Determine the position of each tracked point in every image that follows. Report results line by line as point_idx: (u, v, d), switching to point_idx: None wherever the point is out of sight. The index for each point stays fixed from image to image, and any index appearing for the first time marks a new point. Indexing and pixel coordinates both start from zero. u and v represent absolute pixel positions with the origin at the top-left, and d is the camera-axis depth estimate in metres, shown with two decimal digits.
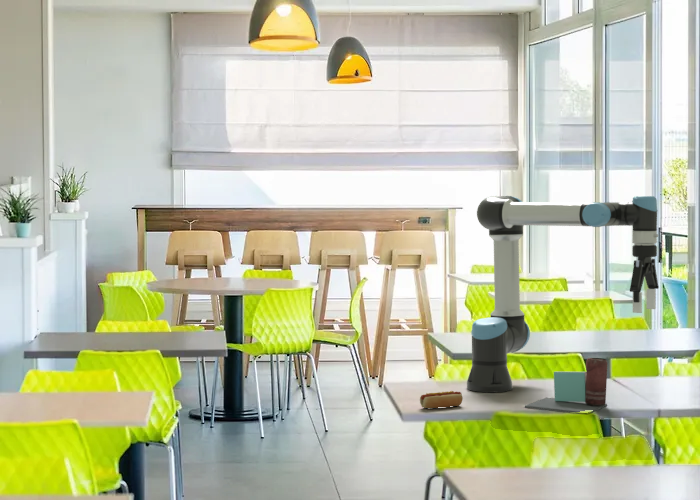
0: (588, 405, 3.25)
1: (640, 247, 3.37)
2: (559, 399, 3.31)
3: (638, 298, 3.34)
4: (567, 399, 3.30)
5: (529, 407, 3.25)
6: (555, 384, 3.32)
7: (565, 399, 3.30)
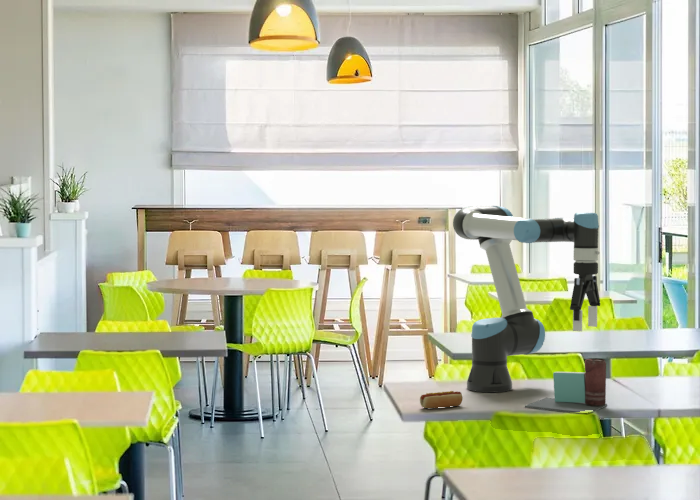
0: None
1: (581, 264, 3.33)
2: (559, 400, 3.31)
3: (578, 316, 3.30)
4: (567, 400, 3.29)
5: (529, 407, 3.25)
6: (555, 385, 3.32)
7: (565, 400, 3.30)
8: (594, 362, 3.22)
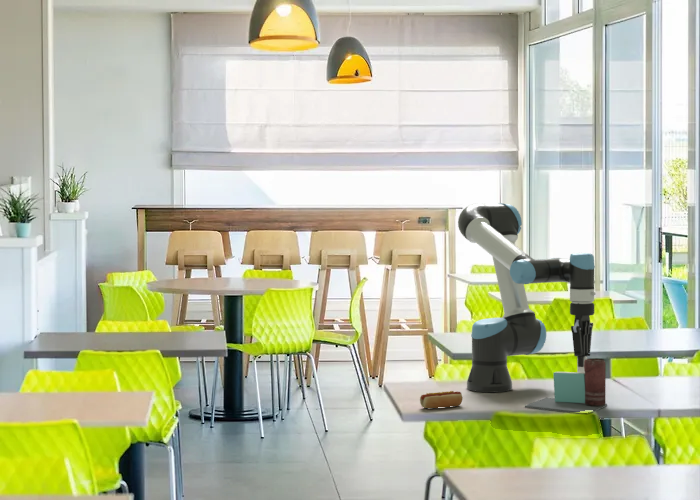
0: None
1: (577, 305, 3.33)
2: (559, 400, 3.31)
3: (582, 363, 3.35)
4: (567, 400, 3.29)
5: (529, 407, 3.25)
6: (555, 385, 3.31)
7: (565, 400, 3.30)
8: (593, 362, 3.22)
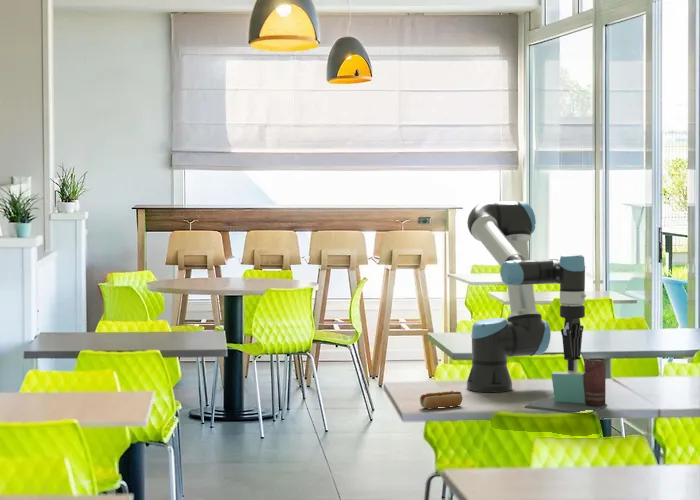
0: None
1: (567, 308, 3.26)
2: (559, 400, 3.31)
3: (572, 366, 3.29)
4: (567, 400, 3.29)
5: (529, 407, 3.25)
6: (554, 385, 3.31)
7: (565, 400, 3.30)
8: (593, 362, 3.22)
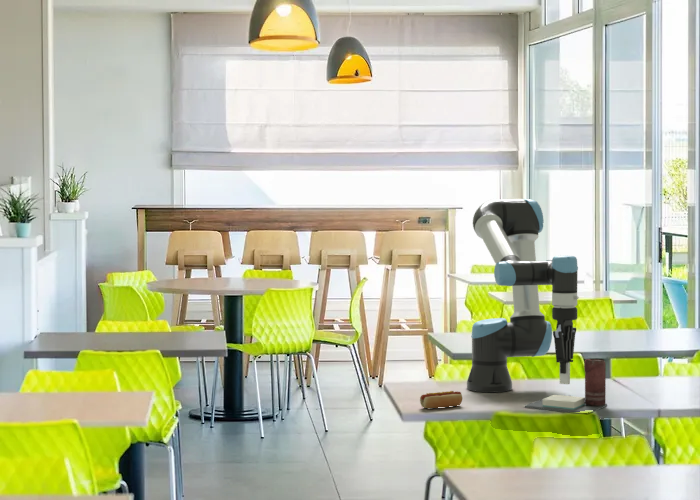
0: None
1: (559, 310, 3.22)
2: None
3: (565, 369, 3.24)
4: None
5: (529, 407, 3.25)
6: None
7: None
8: (593, 362, 3.22)
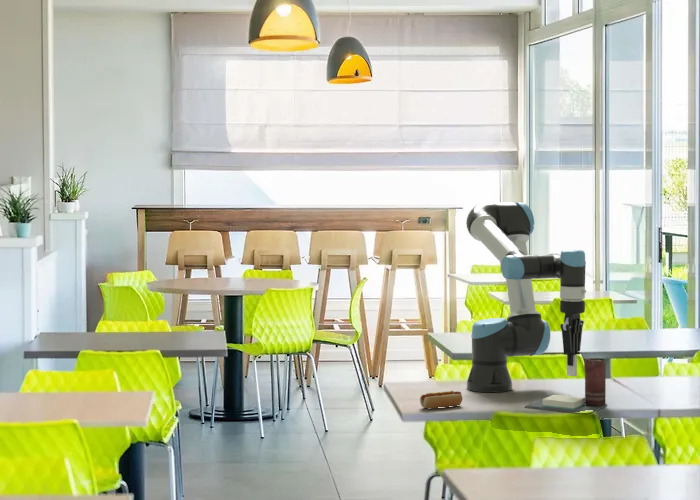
0: None
1: (567, 303, 3.27)
2: None
3: (572, 361, 3.29)
4: None
5: (529, 407, 3.25)
6: None
7: None
8: (593, 362, 3.22)
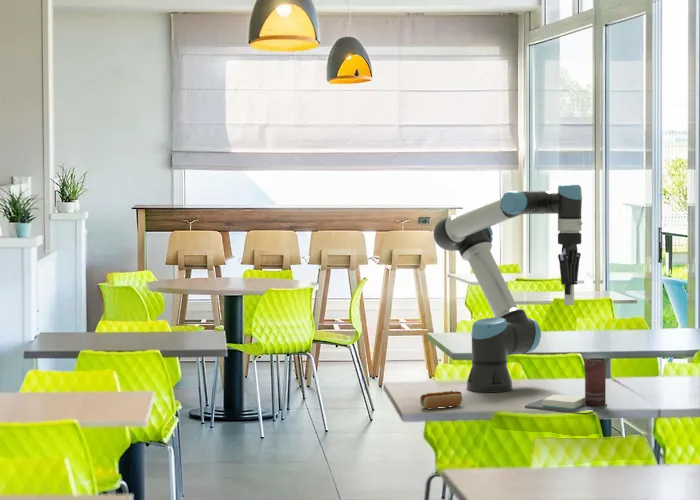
0: None
1: (564, 235, 3.43)
2: None
3: (569, 290, 3.46)
4: None
5: (529, 407, 3.25)
6: None
7: None
8: (593, 362, 3.22)
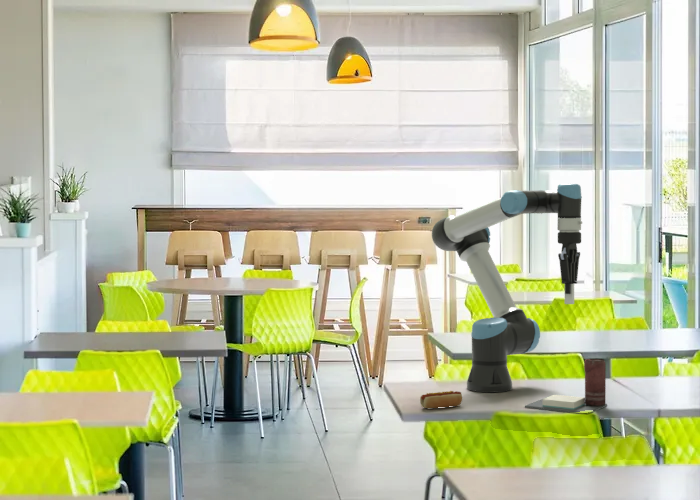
0: None
1: (564, 234, 3.44)
2: None
3: (569, 290, 3.46)
4: None
5: (529, 407, 3.25)
6: None
7: None
8: (593, 362, 3.22)
